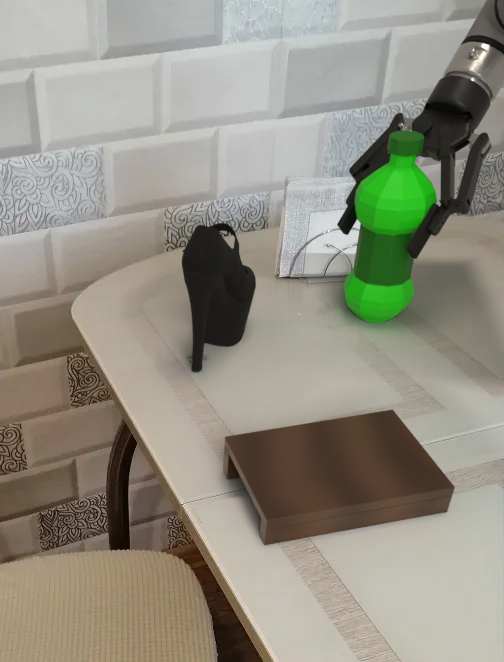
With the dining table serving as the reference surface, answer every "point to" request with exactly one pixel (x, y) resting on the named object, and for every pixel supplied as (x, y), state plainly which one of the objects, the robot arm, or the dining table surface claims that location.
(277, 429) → the wooden display riser
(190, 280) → the high-heeled shoe
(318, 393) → the dining table surface
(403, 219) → the plastic bottle
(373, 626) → the dining table surface
